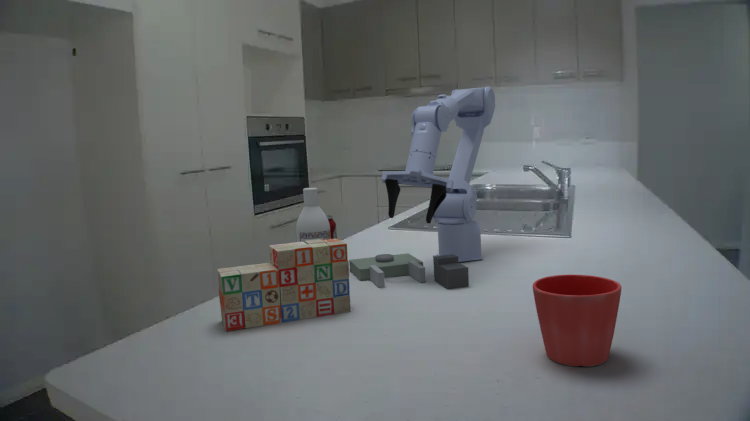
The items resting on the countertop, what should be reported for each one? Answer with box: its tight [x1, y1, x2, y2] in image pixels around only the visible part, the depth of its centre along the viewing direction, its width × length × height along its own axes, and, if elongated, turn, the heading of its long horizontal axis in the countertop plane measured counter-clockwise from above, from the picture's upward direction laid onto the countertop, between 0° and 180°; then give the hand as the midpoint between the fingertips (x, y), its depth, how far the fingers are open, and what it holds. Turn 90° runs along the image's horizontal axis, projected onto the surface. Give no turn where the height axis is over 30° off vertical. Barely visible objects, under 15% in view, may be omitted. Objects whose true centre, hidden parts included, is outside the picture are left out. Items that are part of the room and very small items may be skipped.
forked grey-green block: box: [348, 252, 427, 289], centre depth 121 cm, size 14×17×3 cm
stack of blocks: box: [216, 237, 352, 332], centre depth 96 cm, size 21×6×12 cm, turn 111°
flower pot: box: [532, 274, 622, 367], centre depth 73 cm, size 11×11×10 cm
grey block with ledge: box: [432, 254, 470, 291], centre depth 112 cm, size 4×7×5 cm, turn 15°
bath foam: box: [295, 187, 331, 242], centre depth 115 cm, size 7×7×20 cm
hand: (409, 218), depth 113 cm, fingers open, 7 cm apart
